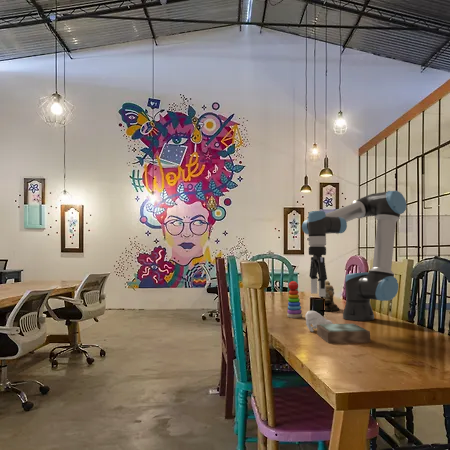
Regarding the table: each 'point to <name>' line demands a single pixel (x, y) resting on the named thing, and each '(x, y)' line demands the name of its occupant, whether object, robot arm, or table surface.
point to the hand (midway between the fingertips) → (318, 295)
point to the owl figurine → (329, 298)
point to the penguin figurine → (315, 320)
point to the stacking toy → (294, 301)
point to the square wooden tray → (343, 333)
